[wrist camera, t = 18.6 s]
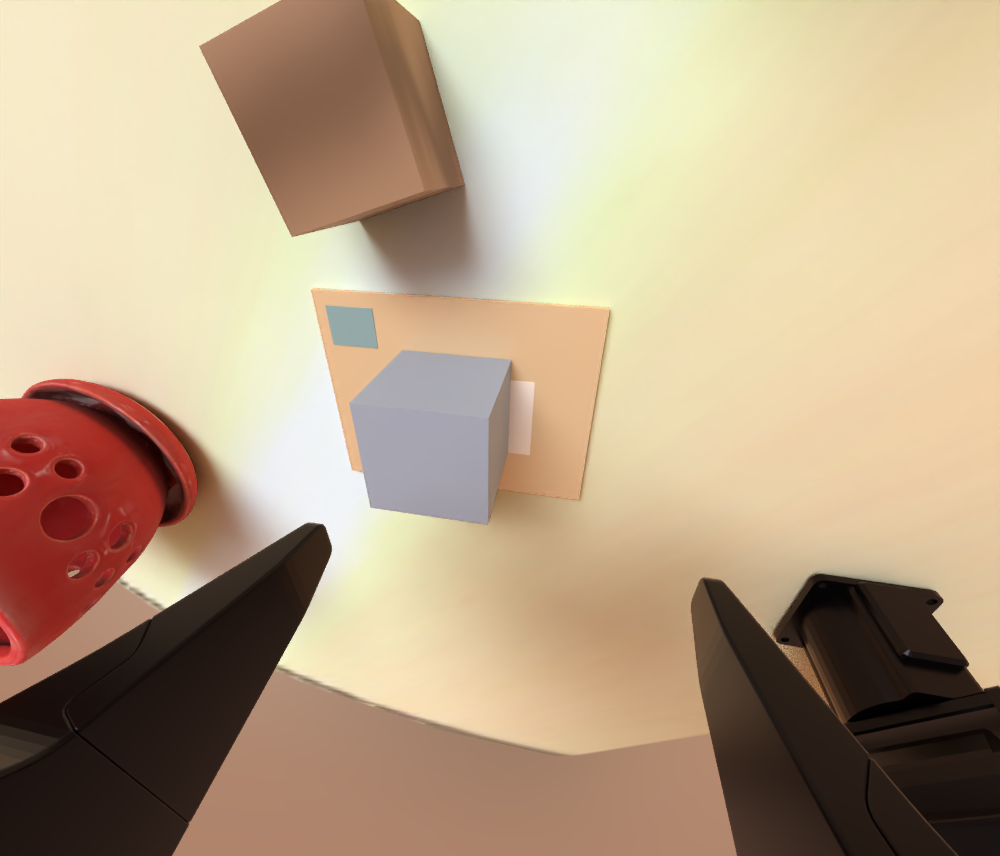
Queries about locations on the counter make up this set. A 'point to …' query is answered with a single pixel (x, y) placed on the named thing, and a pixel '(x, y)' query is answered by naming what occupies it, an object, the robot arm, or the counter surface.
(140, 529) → the plant pot
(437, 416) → the slate cube
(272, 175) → the walnut block
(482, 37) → the counter surface
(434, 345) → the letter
